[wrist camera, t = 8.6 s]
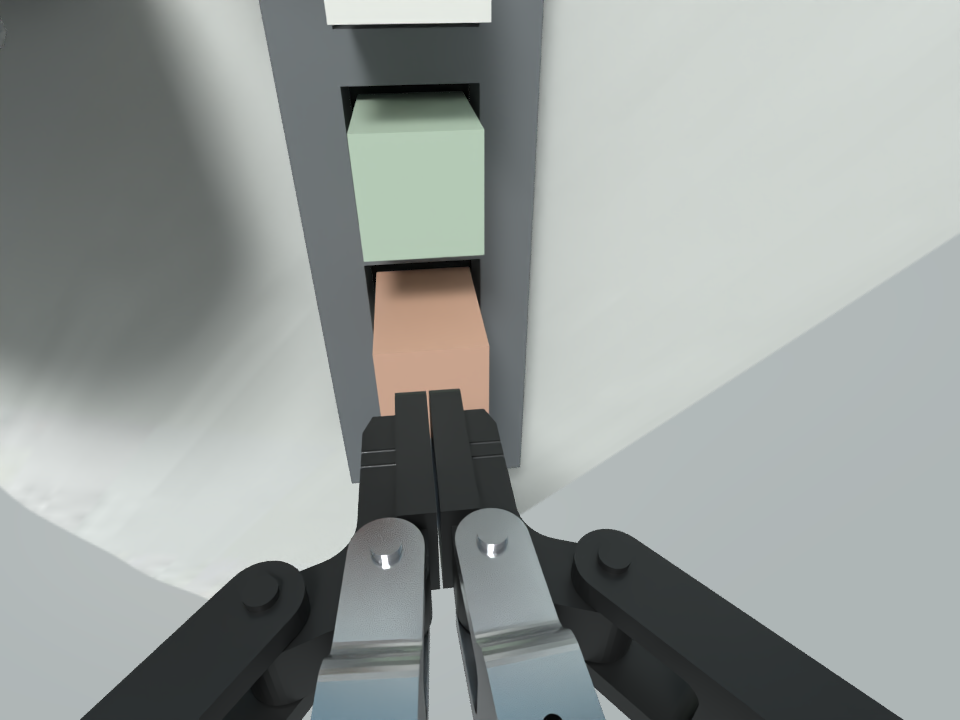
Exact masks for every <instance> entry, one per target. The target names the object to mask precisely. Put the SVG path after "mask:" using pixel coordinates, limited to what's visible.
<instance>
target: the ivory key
mask: <svg viewBox="0 0 960 720" xmlns="http://www.w3.org/2000/svg"><path fill="white" fill-rule="evenodd" d="M324 4H325V12H326V19H327V25H349V24H414V23H478V22H491V0H324Z"/></svg>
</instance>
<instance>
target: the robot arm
mask: <svg viewBox="0 0 960 720" xmlns="http://www.w3.org/2000/svg"><path fill="white" fill-rule="evenodd" d="M429 412H430V429H429V418H428V406H427V395H426V391H416V392H401V393H395V415H392V416H378V417H372V419H371V420H370V422H369V423H368V425H367V427H366V428H365V430H364V431H363V433H362V448H361V453H362V454H361V469H360V484H359V502H358V520H357V528H356V531H355V534H354V536H353V537H352V538H351V541H350V542H349V544H348V545H347V546H346V547H345V548H344V549H343V550H342V551H341V552H340V553H338V554H337V555H336V556H334V557H332V558H331V559H329V560H327V561H325V562H322V563H320V564H317V565H315V566H312V567H310V568H307V569H305V570H302V571H298V569H296V568H295V567H294V566H292V565H290V564H288V563H285V562H282V561H266V562H261V563H258V564H255V565H252V566H250V567H248V568H246V569H244V570H243V571H241V572H240V573H238V574H237V575H236V576H235V577H233V578H232V579H231V580H230V581H229V582H228V583H227V584H226V585H225V586H224V587H223V588H222V589H220V590H219V591H218V592H217V593H216V594H215V595H214V596H213V597H212V598H211V599H210V600H209V601H208V602H207V603H205V605H203V606H202V607H201V608H200V609H199V610H198V611H197V612H196V613H195V614H194V615H192V616H191V617H190V618H189V619H188V620H187V621H186V622H185V623H184V624H183V625H182V626H181V627H180V628H178V629H177V630H176V631H175V632H174V633H173V634H172V635H171V636H170V637H169V638H168V639H167V640H165V641H164V642H163V643H162V644H161V645H160V646H159V647H158V648H157V649H156V650H155V651H154V652H153V653H151V654H150V655H149V656H148V657H147V658H146V659H145V660H144V661H143V662H142V663H141V664H140V665H138V667H136V668H135V669H134V670H133V671H132V672H131V673H130V674H129V675H128V676H127V677H126V678H124V679H123V680H122V681H121V682H120V683H119V684H118V685H117V686H116V687H115V688H114V689H113V690H112V691H111V692H109V693H108V694H107V695H106V696H105V697H104V698H103V699H102V700H101V701H100V702H99V703H97V704H96V705H95V706H94V707H93V708H92V709H91V710H90V711H89V712H88V713H87V714H86V715H85V716H84V717H82V718H81V719H80V720H302V718H303V717H304V716H305V715H306V713H307V712H308V711H309V710H310V708H311V707H312V706H313V708H312V714H311V720H428V711H429V710H428V709H429V708H428V707H429V649H430V624H431V620H432V600H431V590H436V589H440V578H439V552H438V535H439V546H440V557H441V568H442V580H443V588H452V587H454V595H455V604H456V627H457V633H458V638H459V643H460V649H461V654H462V660H463V665H464V671H465V676H466V682H467V687H468V692H469V698H470V703H471V709H472V714H473V720H606V719H605V717H604V714H603V711H602V708H601V706H600V703H599V700H598V697H597V695H596V692H595V689H594V687H595V688H596V689H597V690H598V691H599V692H600V693H601V694H602V695H604V696H605V697H606V698H607V699H608V700H609V701H610V702H612V703H613V704H614V705H615V706H616V707H617V708H618V709H619V710H620V711H622V712H623V713H624V714H625V715H626V716H627V717H628V718H630V719H631V720H903V719H902V718H900V717H898V716H897V715H896V714H894V713H893V712H891V711H890V710H888V709H887V708H885V707H884V706H882V705H881V704H879V703H878V702H876V701H875V700H873V699H872V698H870V697H869V696H867V695H866V694H865V693H863V692H861V691H860V690H859V689H857V688H855V687H854V686H853V685H851V684H850V683H848V682H847V681H845V680H844V679H842V678H841V677H839V676H838V675H836V674H835V673H833V672H832V671H830V670H829V669H827V668H826V667H825V666H823V665H821V664H820V663H819V662H817V661H816V660H814V659H813V658H811V657H809V656H808V655H807V654H805V653H804V652H802V651H801V650H799V649H798V648H796V647H795V646H793V645H792V644H790V643H789V642H788V641H786V640H784V639H783V638H782V637H780V636H779V635H777V634H776V633H774V632H773V631H771V630H770V629H768V628H767V627H765V626H764V625H762V624H761V623H759V622H758V621H756V620H755V619H753V618H752V617H750V616H749V615H747V614H746V613H745V612H743V611H741V610H740V609H739V608H737V607H736V606H734V605H733V604H731V603H730V602H728V601H727V600H725V599H724V598H722V597H721V596H719V595H718V594H716V593H715V592H713V591H712V590H710V589H709V588H708V587H706V586H705V585H703V584H702V583H700V582H699V581H697V580H696V579H694V578H693V577H691V576H690V575H688V574H687V573H685V572H684V571H682V570H681V569H679V568H678V567H676V566H675V565H673V564H672V563H670V562H669V561H668V560H666V559H665V558H663V557H662V556H660V555H659V554H657V553H656V552H654V551H653V550H651V549H650V548H648V547H647V546H645V545H644V544H642V543H641V542H639V541H638V540H636V539H635V538H633V537H632V536H630V535H628V534H625V533H623V532H620V531H617V530H612V529H600V530H595V531H592V532H590V533H588V534H586V535H585V536H583V537H582V538H581V539H580V540H579V542H578V543H574V542H569V541H564V540H559V539H554V538H550V537H547V536H544V535H541V534H539V533H538V532H536V531H534V530H533V529H531V528H530V527H529V526H528V525H527V524H526V523H525V522H524V521H523V520H522V518H521V517H520V515H519V513H518V511H517V508H516V504H515V499H514V495H513V491H512V487H511V483H510V478H509V474H508V470H507V466H506V461H505V457H504V453H503V449H502V445H501V442H500V436H499V432H498V428H497V423H496V422H495V421H494V420H493V418H492V417H491V416H490V415H489V414H488V413H487V412H486V411H485V409H473V410H464V409H463V403H462V397H461V391H460V389H444V390H429ZM430 435H431V440H430ZM437 523H438V527H437Z"/></svg>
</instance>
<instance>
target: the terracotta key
mask: <svg viewBox="0 0 960 720" xmlns="http://www.w3.org/2000/svg"><path fill="white" fill-rule="evenodd" d="M372 355H373V362H374V369H375V376H376V384H377V391H378V398H379V406H380V413H381V416H392V415H395V393H401V392H416V391H426V395H427V406H428V418H429V429H430V412H429V390H444V389H460V391H461V397H462V403H463V409H464V410H473V409H485V411H486V412H487V413H488V414H489V343H488V339H487V335H486V331H485V327H484V323H483V319H482V315H481V312H480V308H479V304H478V300H477V296H476V292H475V288H474V284H473V281H472V277H471V273H470V269H469V267H453V268H436V269H420V270H403V271H386V272H377V274H376V294H375V314H374V334H373V354H372ZM430 438H431V435H430Z"/></svg>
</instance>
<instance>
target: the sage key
mask: <svg viewBox="0 0 960 720" xmlns="http://www.w3.org/2000/svg"><path fill="white" fill-rule="evenodd" d="M347 138H348V146H349V153H350V161H351V168H352V176H353V183H354V191H355V199H356V206H357V214H358V221H359V229H360V236H361V244H362V251H363V259H364V262H370V261H388V260H405V259H422V258H439V257H457V256H474V255H484V128H483V126H482V125H481V123H480V121H479V119H478V118H477V116H476V114H475V112H474V111H473V109H472V107H471V105H470V104H469V102H468V100H467V98H466V97H465V95H464V93H463V91H451V92H415V93H379V94H358V95H357V99H356V103H355V106H354V110H353V114H352V118H351V121H350V125H349V129H348V132H347Z"/></svg>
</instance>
